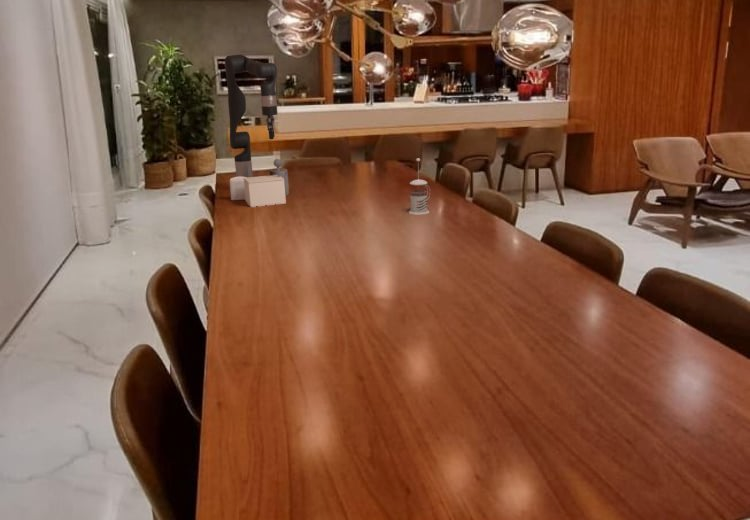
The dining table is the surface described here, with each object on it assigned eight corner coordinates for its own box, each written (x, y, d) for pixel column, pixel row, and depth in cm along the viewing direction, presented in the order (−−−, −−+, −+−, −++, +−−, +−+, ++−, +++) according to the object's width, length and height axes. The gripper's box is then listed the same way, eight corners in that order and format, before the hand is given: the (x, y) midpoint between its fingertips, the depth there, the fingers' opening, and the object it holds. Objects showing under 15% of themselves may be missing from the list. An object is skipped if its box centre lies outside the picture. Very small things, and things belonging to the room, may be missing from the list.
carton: (245, 202, 332) (243, 179, 329) (279, 198, 339) (277, 176, 335) (250, 207, 320) (248, 183, 316) (285, 203, 326) (284, 180, 323)
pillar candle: (268, 194, 350) (265, 167, 345) (282, 192, 356) (280, 165, 351) (277, 197, 343) (275, 169, 338) (292, 194, 349) (290, 167, 345)
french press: (404, 212, 296) (402, 158, 288) (422, 208, 303) (421, 155, 296) (418, 215, 289) (417, 160, 281) (436, 211, 296) (436, 157, 288)
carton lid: (243, 179, 329) (241, 160, 326) (279, 175, 335) (278, 157, 333) (248, 183, 316) (246, 163, 314) (286, 179, 323) (284, 160, 320)
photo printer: (250, 198, 343) (248, 175, 339) (250, 199, 339) (248, 176, 335) (231, 199, 342) (229, 176, 338) (230, 201, 338) (228, 177, 334)
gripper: (262, 104, 322) (265, 136, 327) (260, 106, 309) (263, 140, 314) (277, 103, 323) (280, 136, 328) (276, 105, 309) (278, 139, 314)
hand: (272, 138), depth 321 cm, fingers open, 8 cm apart
